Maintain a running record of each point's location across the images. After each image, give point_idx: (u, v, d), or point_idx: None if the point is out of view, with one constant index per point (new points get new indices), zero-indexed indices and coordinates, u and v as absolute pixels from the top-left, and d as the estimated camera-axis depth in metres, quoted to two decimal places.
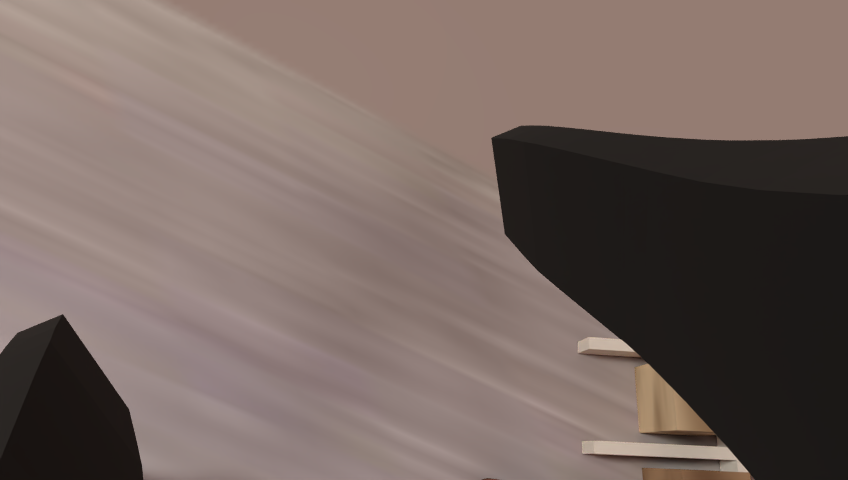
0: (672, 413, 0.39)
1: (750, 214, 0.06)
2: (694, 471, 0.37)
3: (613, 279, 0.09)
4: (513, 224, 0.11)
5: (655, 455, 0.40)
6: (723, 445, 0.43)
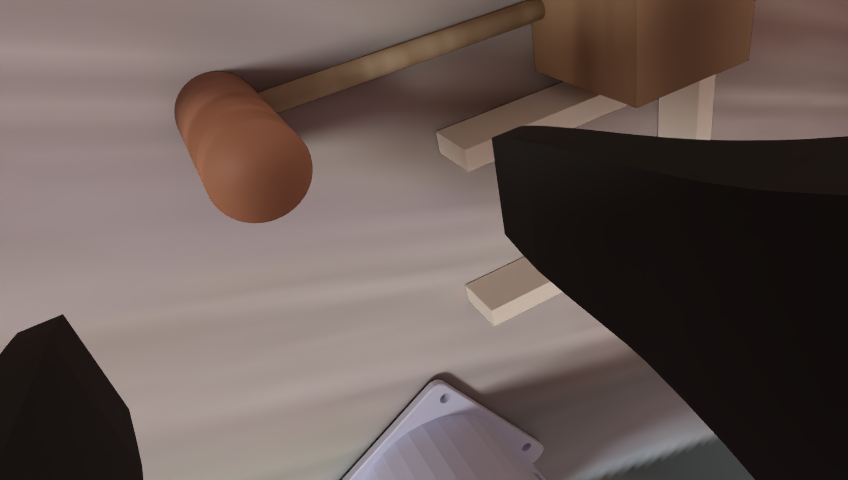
0: None
1: (750, 213, 0.06)
2: None
3: (613, 279, 0.09)
4: (513, 224, 0.11)
5: None
6: None
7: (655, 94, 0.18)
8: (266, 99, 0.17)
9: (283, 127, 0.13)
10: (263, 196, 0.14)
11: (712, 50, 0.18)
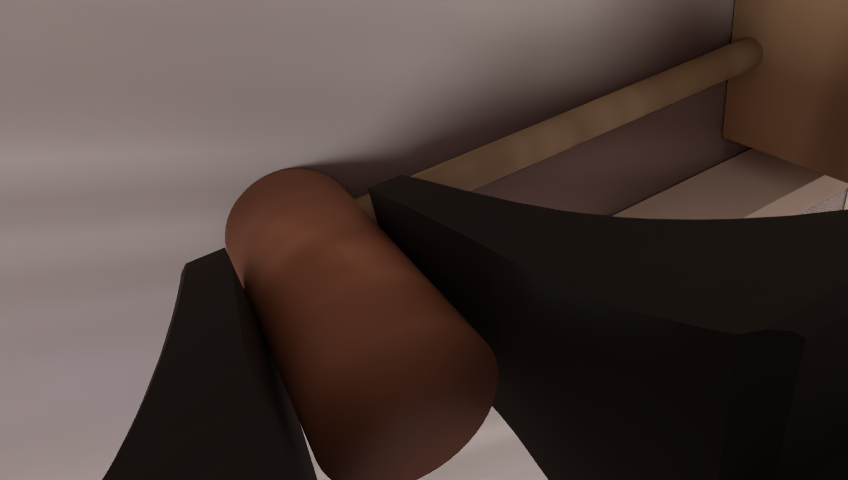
0: None
1: (565, 310, 0.06)
2: None
3: None
4: None
5: None
6: None
7: None
8: (371, 212, 0.11)
9: (461, 330, 0.07)
10: (412, 445, 0.07)
11: None
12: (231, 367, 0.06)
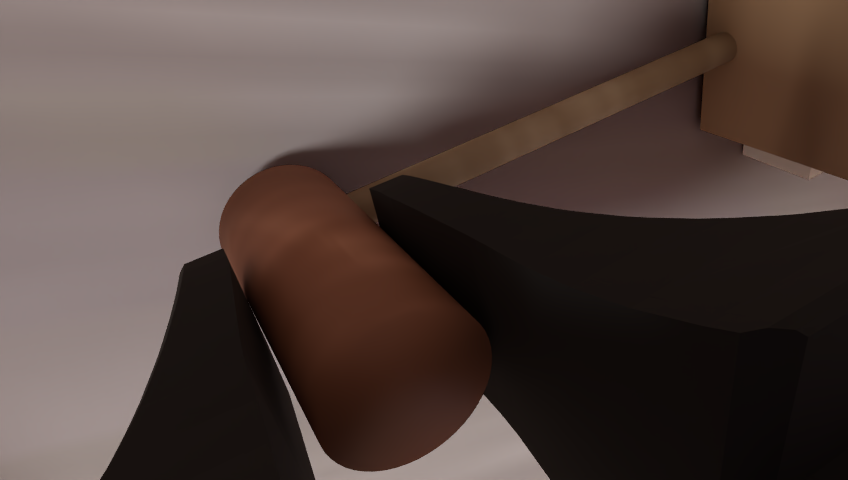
0: None
1: (567, 310, 0.06)
2: None
3: None
4: None
5: None
6: None
7: None
8: (362, 206, 0.11)
9: (456, 312, 0.07)
10: (410, 426, 0.08)
11: None
12: (229, 368, 0.06)
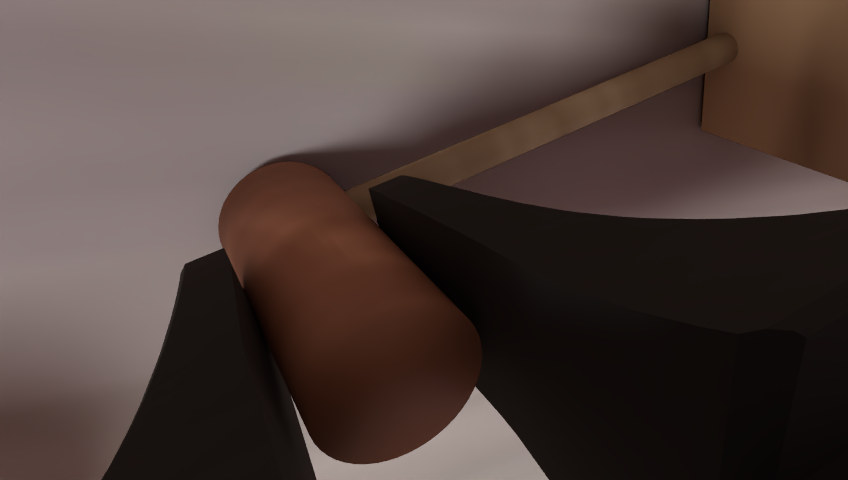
0: None
1: (565, 310, 0.06)
2: None
3: None
4: None
5: None
6: None
7: None
8: (360, 203, 0.11)
9: (446, 308, 0.07)
10: (400, 420, 0.08)
11: None
12: (230, 368, 0.06)
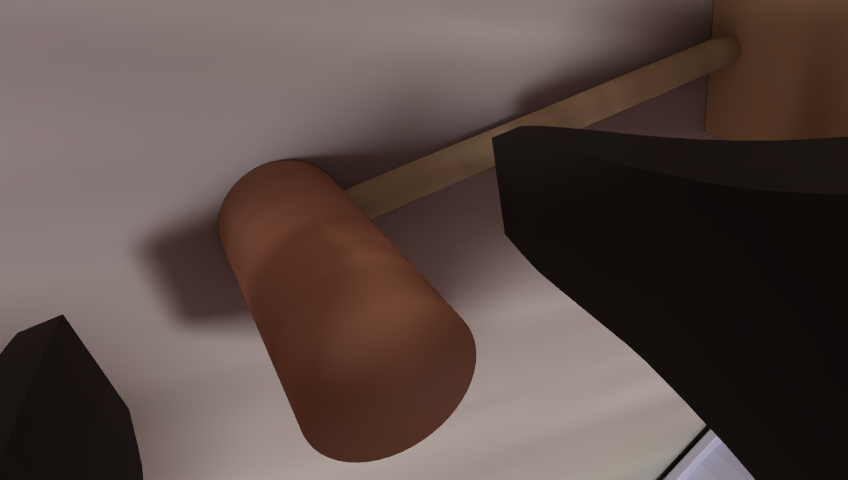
0: None
1: (751, 213, 0.06)
2: None
3: (613, 279, 0.09)
4: (513, 224, 0.11)
5: None
6: None
7: None
8: (359, 202, 0.11)
9: (439, 309, 0.07)
10: (394, 419, 0.08)
11: None
12: None
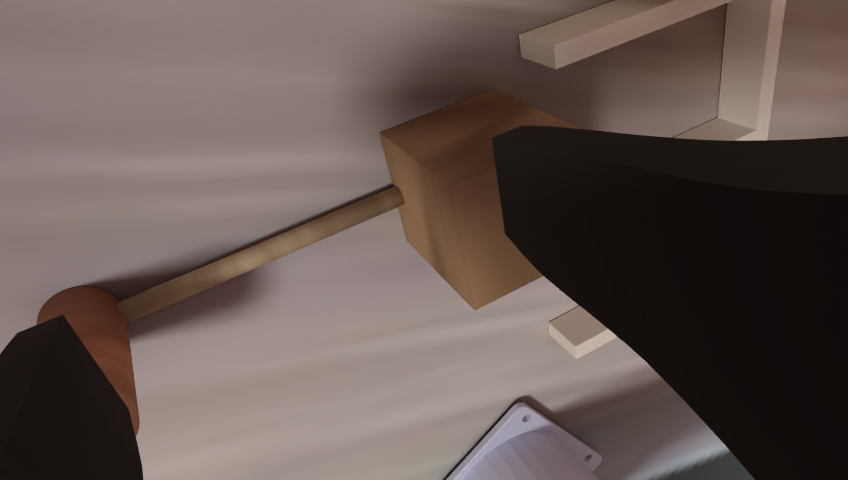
0: None
1: (750, 214, 0.06)
2: (477, 178, 0.17)
3: (613, 279, 0.09)
4: (513, 224, 0.11)
5: (654, 28, 0.21)
6: None
7: (493, 296, 0.19)
8: (124, 311, 0.18)
9: None
10: None
11: None
12: None
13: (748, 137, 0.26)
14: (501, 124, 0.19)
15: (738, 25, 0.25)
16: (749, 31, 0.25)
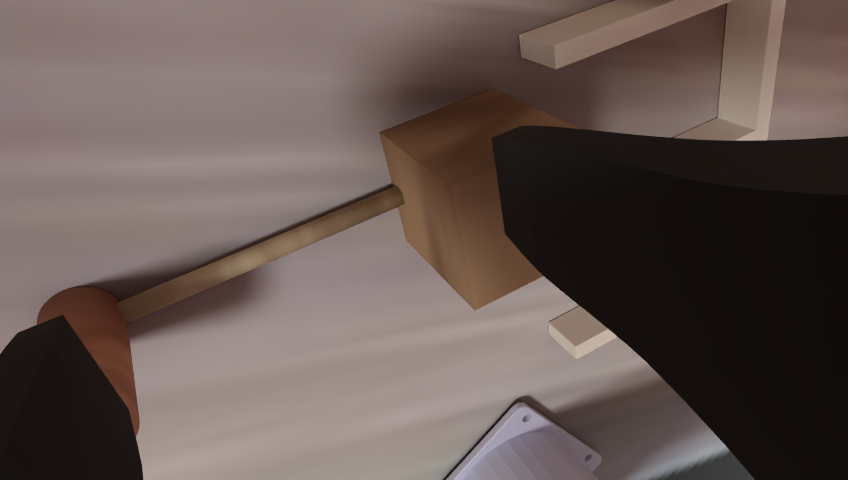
0: None
1: (750, 214, 0.06)
2: (477, 178, 0.17)
3: (613, 279, 0.09)
4: (513, 224, 0.11)
5: (654, 28, 0.21)
6: None
7: (493, 296, 0.19)
8: (124, 311, 0.18)
9: None
10: None
11: None
12: None
13: (748, 137, 0.26)
14: (501, 124, 0.19)
15: (738, 25, 0.25)
16: (749, 31, 0.25)
